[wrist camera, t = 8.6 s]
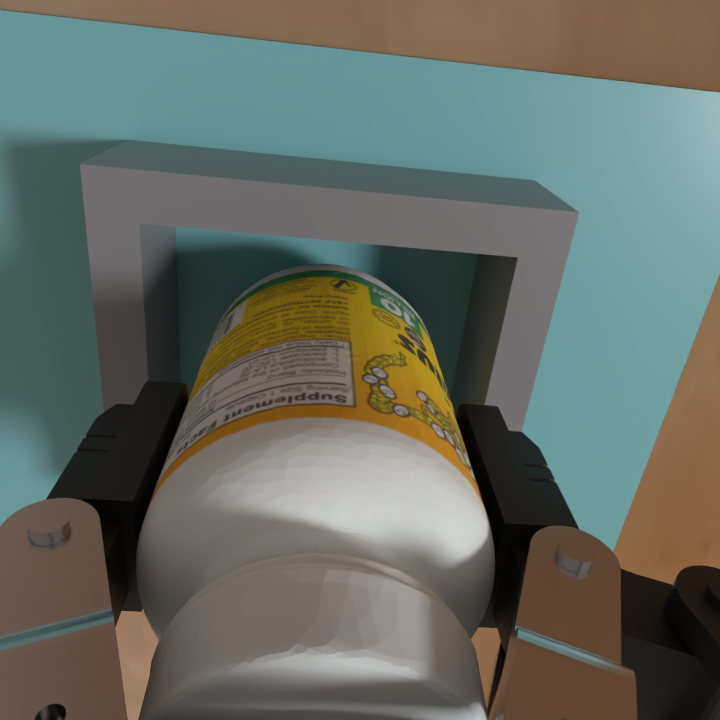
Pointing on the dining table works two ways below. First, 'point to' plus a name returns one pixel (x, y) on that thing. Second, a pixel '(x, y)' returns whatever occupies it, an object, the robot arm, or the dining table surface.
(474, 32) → the dining table surface
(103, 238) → the bottle stand
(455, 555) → the supplement bottle
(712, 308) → the dining table surface
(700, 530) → the dining table surface
